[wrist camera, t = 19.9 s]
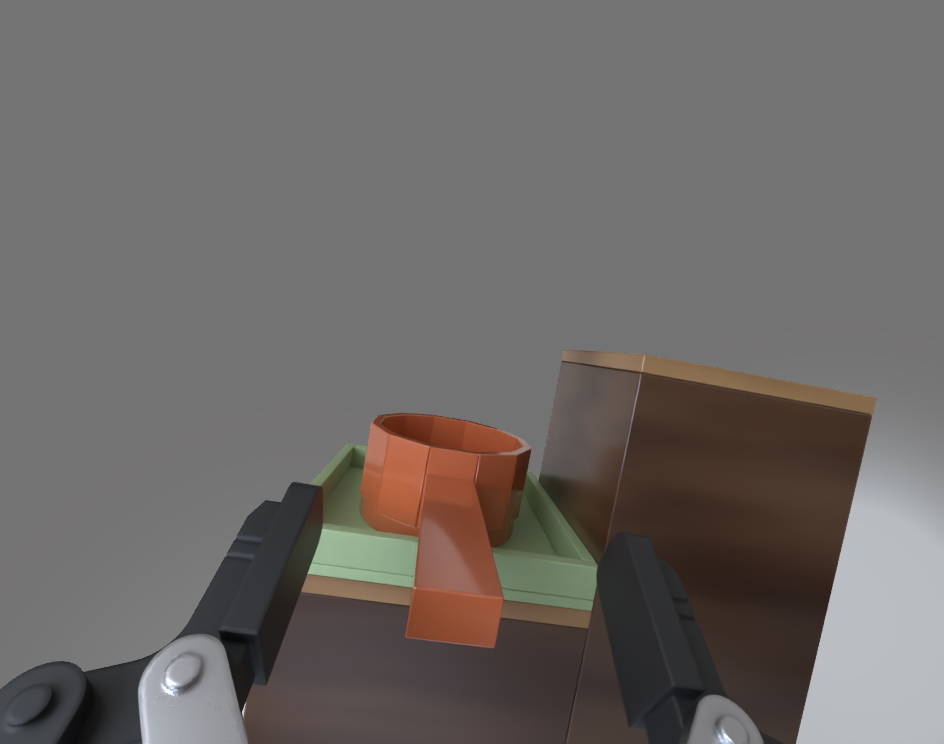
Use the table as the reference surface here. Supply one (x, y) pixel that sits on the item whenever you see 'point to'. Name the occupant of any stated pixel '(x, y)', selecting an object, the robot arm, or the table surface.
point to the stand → (596, 523)
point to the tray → (517, 561)
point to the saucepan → (446, 516)
